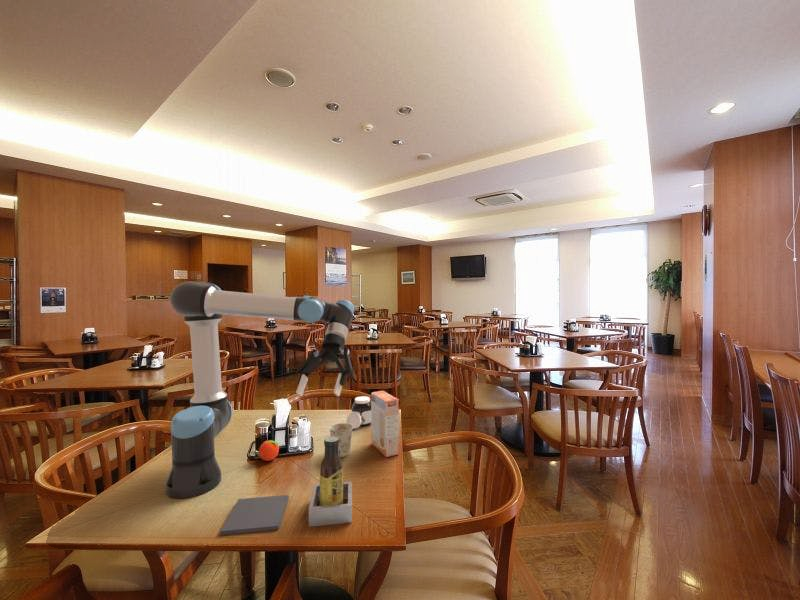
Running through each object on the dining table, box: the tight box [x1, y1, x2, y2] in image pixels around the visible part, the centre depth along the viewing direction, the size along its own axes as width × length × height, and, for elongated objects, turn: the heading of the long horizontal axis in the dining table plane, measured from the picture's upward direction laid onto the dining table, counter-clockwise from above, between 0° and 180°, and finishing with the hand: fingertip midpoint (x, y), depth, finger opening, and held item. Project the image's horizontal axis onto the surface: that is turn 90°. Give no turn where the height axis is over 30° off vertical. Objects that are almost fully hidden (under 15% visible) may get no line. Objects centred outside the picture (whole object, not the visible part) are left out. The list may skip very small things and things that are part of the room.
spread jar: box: [346, 396, 371, 430], centre depth 162 cm, size 12×11×12 cm
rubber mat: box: [220, 494, 290, 536], centre depth 97 cm, size 14×14×1 cm
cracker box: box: [370, 390, 400, 458], centre depth 136 cm, size 14×6×21 cm, turn 26°
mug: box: [329, 422, 353, 458], centre depth 131 cm, size 8×13×10 cm, turn 174°
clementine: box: [258, 439, 281, 462], centre depth 129 cm, size 8×7×7 cm
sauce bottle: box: [319, 436, 344, 506], centre depth 98 cm, size 7×6×20 cm
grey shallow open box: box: [308, 481, 353, 527], centre depth 98 cm, size 11×12×4 cm
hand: (317, 394), depth 111 cm, fingers open, 13 cm apart
